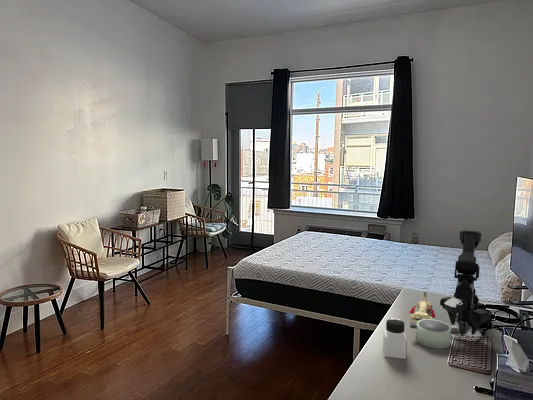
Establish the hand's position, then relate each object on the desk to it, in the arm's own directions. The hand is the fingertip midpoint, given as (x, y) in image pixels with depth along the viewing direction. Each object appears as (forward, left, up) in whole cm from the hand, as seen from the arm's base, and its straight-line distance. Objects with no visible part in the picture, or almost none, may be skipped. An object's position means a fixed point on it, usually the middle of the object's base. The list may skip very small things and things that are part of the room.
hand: (462, 329), depth 155 cm
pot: (+11, -11, -2) cm, 16 cm away
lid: (0, 0, -2) cm, 2 cm away
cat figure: (-12, -15, -2) cm, 19 cm away
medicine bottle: (+26, -24, -2) cm, 35 cm away
